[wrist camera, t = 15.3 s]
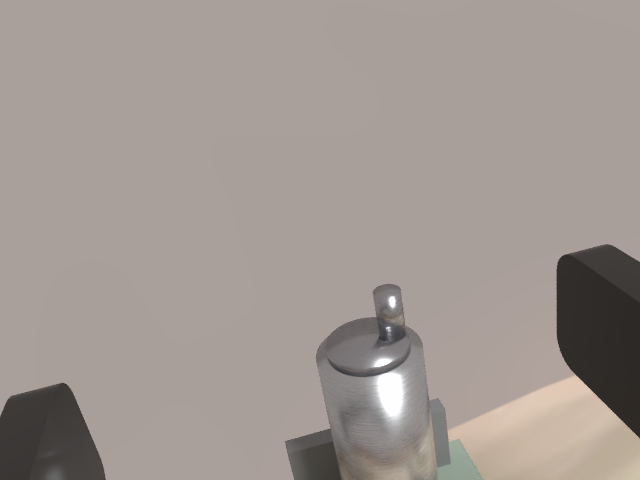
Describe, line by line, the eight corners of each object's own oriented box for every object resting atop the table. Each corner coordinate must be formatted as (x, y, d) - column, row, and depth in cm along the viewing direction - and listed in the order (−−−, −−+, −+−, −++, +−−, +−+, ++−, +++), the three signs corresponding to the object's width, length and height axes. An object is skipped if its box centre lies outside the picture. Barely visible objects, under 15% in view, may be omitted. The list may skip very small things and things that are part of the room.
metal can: (368, 590, 34) (317, 341, 27) (345, 513, 40) (296, 286, 32) (460, 561, 35) (433, 311, 28) (425, 489, 40) (395, 261, 33)
